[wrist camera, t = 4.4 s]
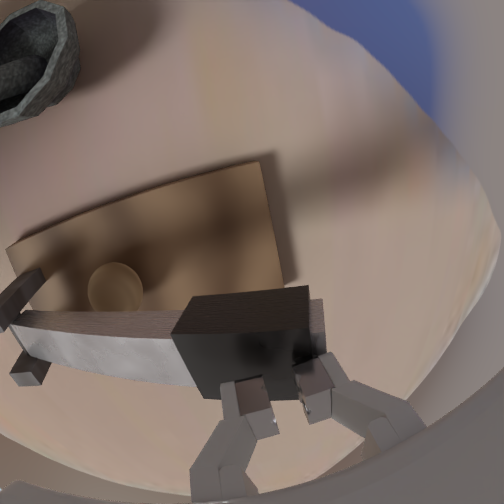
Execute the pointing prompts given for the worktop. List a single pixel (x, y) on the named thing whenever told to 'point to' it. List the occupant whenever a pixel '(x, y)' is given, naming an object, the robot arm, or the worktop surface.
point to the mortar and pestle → (36, 60)
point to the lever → (188, 340)
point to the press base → (149, 250)
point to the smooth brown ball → (115, 289)
